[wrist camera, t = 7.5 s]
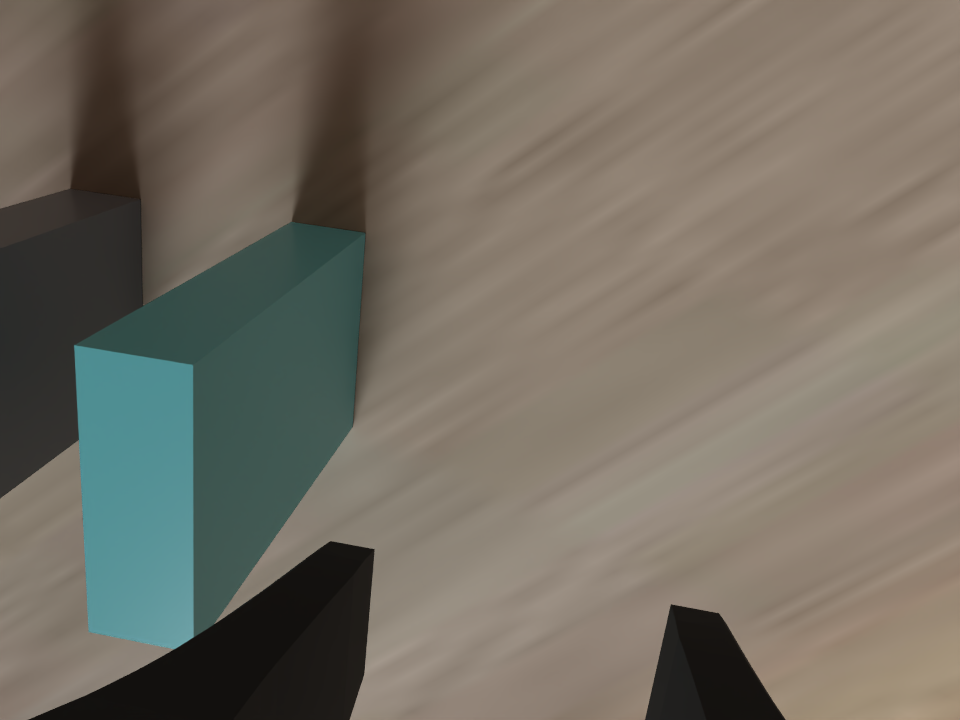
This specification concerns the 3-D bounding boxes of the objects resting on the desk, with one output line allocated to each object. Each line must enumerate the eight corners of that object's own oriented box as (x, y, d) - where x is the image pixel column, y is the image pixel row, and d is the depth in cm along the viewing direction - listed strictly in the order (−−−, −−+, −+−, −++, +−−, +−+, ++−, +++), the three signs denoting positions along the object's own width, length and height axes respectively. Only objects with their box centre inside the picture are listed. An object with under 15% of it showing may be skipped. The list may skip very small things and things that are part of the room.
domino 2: (284, 415, 23) (89, 631, 15) (291, 221, 22) (74, 345, 13) (352, 427, 23) (193, 653, 15) (365, 233, 21) (193, 364, 13)
